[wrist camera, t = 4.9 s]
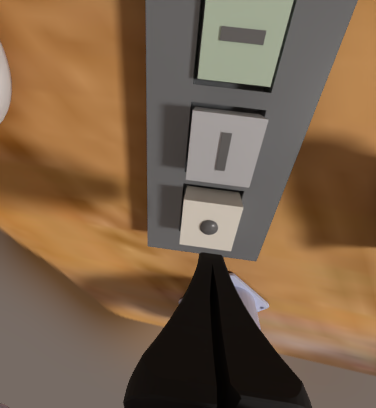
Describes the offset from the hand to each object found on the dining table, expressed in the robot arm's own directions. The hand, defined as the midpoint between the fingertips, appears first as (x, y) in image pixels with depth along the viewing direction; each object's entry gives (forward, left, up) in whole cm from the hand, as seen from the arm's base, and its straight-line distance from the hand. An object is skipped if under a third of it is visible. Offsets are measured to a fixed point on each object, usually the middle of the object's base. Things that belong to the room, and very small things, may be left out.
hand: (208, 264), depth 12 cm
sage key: (+9, +8, -8) cm, 14 cm away
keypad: (+5, +4, -8) cm, 10 cm away
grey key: (+5, +4, -6) cm, 9 cm away
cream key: (0, 0, -6) cm, 6 cm away
